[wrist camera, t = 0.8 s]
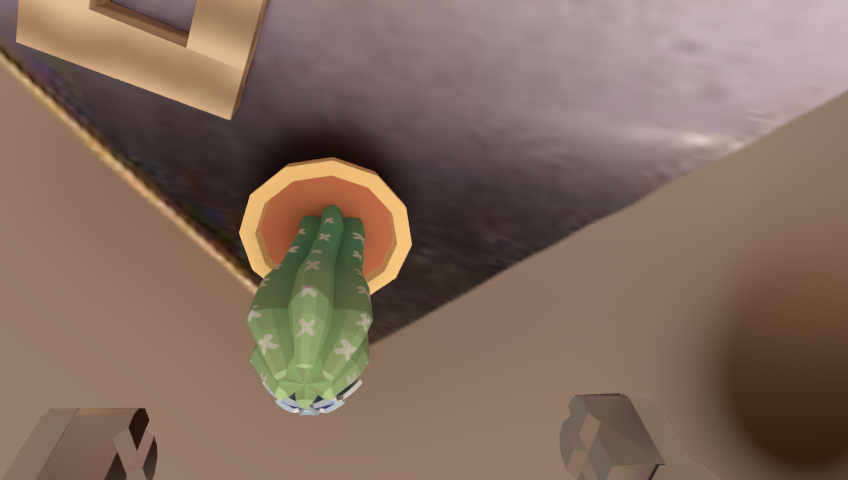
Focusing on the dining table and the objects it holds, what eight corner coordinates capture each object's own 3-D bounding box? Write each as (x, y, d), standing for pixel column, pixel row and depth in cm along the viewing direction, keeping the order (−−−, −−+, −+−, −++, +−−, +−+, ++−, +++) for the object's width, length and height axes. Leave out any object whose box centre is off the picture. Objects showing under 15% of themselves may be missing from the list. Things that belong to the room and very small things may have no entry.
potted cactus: (226, 214, 53) (140, 410, 32) (307, 94, 48) (265, 236, 27) (351, 282, 59) (347, 482, 38) (435, 183, 54) (484, 354, 33)
